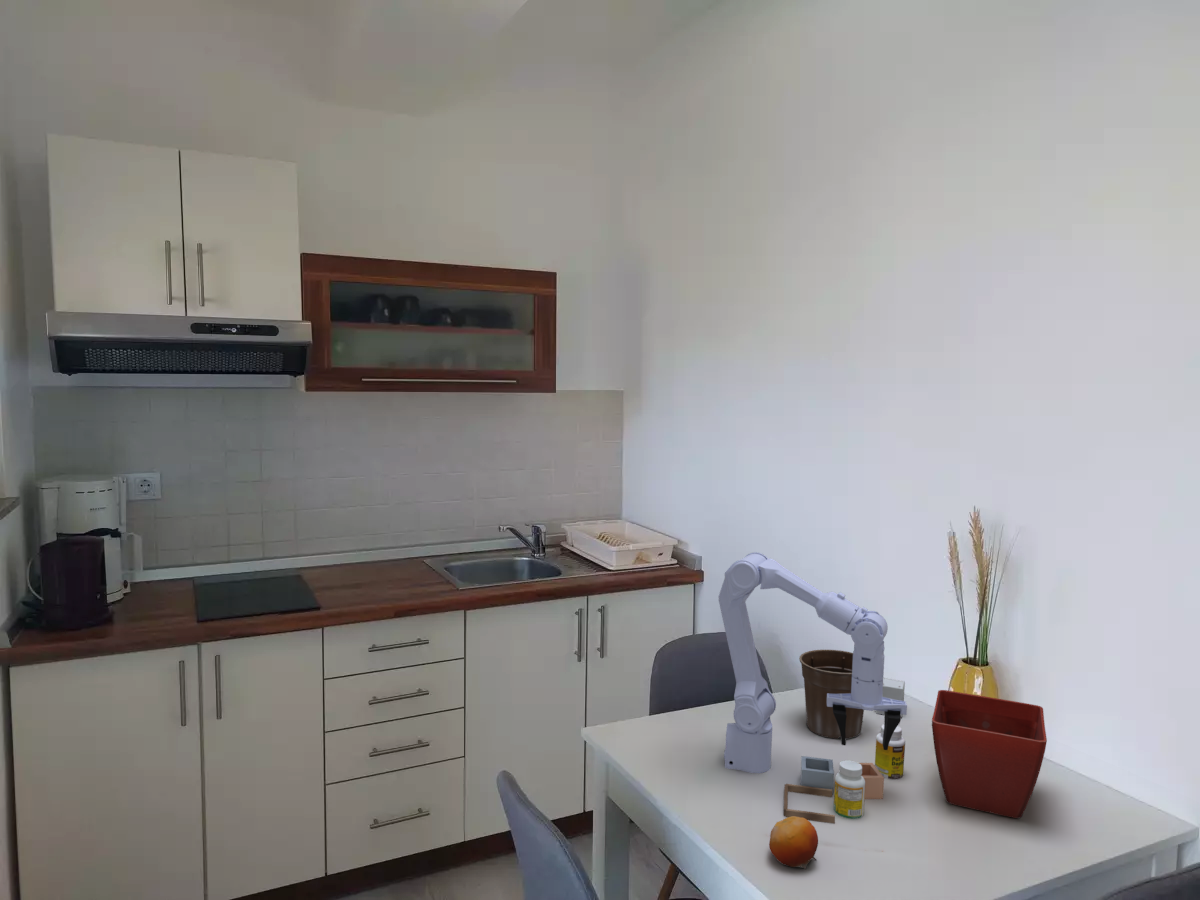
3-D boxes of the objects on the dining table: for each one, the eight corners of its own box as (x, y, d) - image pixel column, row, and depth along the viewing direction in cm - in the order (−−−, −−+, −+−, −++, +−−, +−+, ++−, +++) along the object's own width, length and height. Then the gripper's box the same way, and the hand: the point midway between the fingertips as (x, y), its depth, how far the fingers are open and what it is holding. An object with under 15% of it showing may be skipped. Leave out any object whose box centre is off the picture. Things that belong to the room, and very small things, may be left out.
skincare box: (903, 709, 202) (905, 680, 202) (901, 718, 197) (903, 688, 196) (877, 705, 205) (879, 676, 204) (875, 714, 199) (876, 684, 199)
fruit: (820, 874, 131) (797, 825, 133) (778, 884, 135) (756, 836, 137) (835, 850, 138) (812, 804, 140) (794, 860, 142) (773, 815, 144)
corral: (783, 820, 150) (784, 810, 150) (784, 793, 160) (784, 783, 160) (834, 827, 148) (835, 816, 148) (831, 799, 158) (832, 789, 158)
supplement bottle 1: (856, 826, 149) (858, 775, 148) (828, 815, 152) (830, 765, 151) (868, 814, 153) (870, 764, 152) (840, 804, 156) (843, 755, 155)
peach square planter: (851, 802, 157) (852, 777, 156) (841, 787, 163) (842, 762, 162) (882, 802, 157) (884, 777, 157) (871, 787, 163) (872, 762, 163)
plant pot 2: (934, 765, 173) (938, 687, 171) (1037, 787, 165) (1043, 705, 163) (926, 807, 156) (931, 721, 154) (1040, 833, 147) (1047, 742, 146)
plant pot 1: (785, 731, 188) (788, 662, 187) (811, 708, 202) (814, 644, 200) (856, 750, 179) (860, 678, 178) (878, 725, 192) (882, 658, 191)
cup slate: (800, 794, 160) (801, 769, 159) (800, 779, 165) (801, 755, 165) (832, 798, 158) (834, 773, 158) (831, 783, 164) (832, 759, 164)
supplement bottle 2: (891, 785, 164) (894, 735, 163) (868, 774, 169) (870, 725, 168) (909, 778, 167) (911, 729, 166) (886, 767, 172) (888, 719, 171)
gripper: (829, 680, 156) (825, 749, 157) (910, 688, 152) (906, 759, 154) (827, 667, 162) (824, 734, 164) (905, 675, 159) (901, 743, 160)
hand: (864, 745), depth 159 cm, fingers open, 7 cm apart
